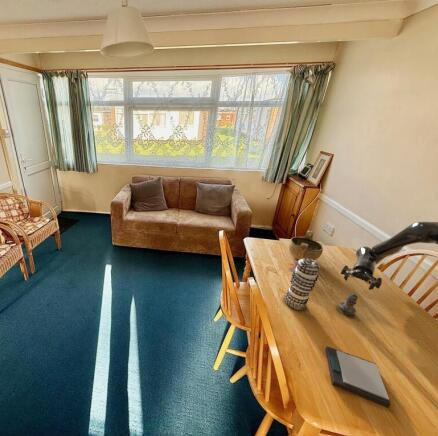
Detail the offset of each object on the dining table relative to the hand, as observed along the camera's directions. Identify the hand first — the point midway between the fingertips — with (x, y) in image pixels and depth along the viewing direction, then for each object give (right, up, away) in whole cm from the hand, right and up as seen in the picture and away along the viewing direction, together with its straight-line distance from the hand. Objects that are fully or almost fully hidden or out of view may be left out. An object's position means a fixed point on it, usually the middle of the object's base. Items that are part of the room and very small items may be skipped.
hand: (358, 283), depth 105 cm
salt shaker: (-8, -13, -2) cm, 16 cm away
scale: (-27, -25, -27) cm, 45 cm away
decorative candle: (-28, -11, +2) cm, 30 cm away
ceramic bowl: (-1, +5, +37) cm, 37 cm away
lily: (-14, -2, +21) cm, 25 cm away
